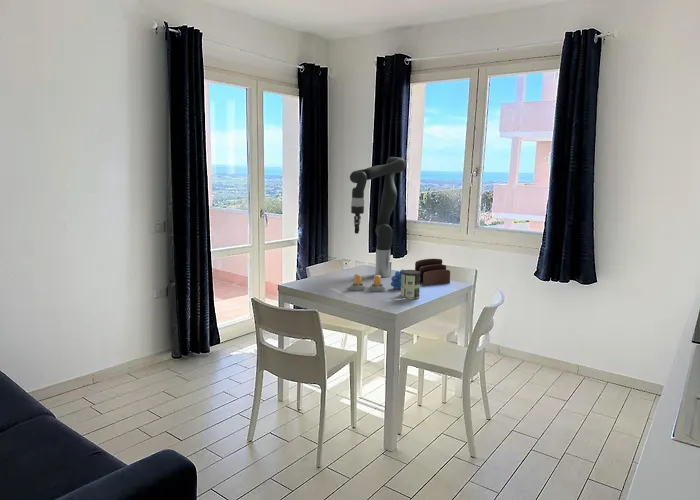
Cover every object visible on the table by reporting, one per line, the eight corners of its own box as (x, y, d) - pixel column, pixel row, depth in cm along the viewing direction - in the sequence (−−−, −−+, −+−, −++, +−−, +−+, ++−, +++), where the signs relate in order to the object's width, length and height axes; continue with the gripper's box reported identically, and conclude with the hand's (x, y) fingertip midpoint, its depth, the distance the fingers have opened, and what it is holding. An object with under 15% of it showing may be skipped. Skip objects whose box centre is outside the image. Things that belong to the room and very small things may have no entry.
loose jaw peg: (358, 287, 292) (359, 273, 291) (362, 289, 289) (363, 275, 287) (352, 288, 290) (353, 274, 289) (356, 289, 287) (357, 275, 285)
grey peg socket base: (384, 289, 294) (385, 283, 293) (384, 294, 283) (385, 287, 283) (350, 287, 295) (350, 281, 295) (348, 292, 284) (349, 286, 284)
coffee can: (414, 293, 285) (415, 269, 283) (422, 298, 275) (423, 273, 273) (397, 294, 282) (398, 269, 280) (404, 299, 272) (405, 274, 270)
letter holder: (413, 282, 314) (414, 259, 311) (440, 279, 322) (441, 257, 320) (423, 285, 305) (424, 262, 302) (450, 283, 313) (451, 260, 311)
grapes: (405, 287, 298) (406, 267, 296) (410, 290, 292) (411, 270, 290) (387, 288, 295) (388, 268, 293) (392, 291, 288) (393, 271, 286)
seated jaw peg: (377, 288, 291) (378, 274, 290) (381, 289, 288) (382, 276, 287) (372, 289, 289) (372, 275, 288) (376, 290, 286) (376, 276, 285)
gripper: (352, 204, 310) (351, 230, 313) (350, 206, 296) (349, 234, 299) (364, 204, 309) (363, 231, 312) (363, 206, 295) (362, 234, 298)
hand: (356, 232), depth 305 cm, fingers open, 8 cm apart
